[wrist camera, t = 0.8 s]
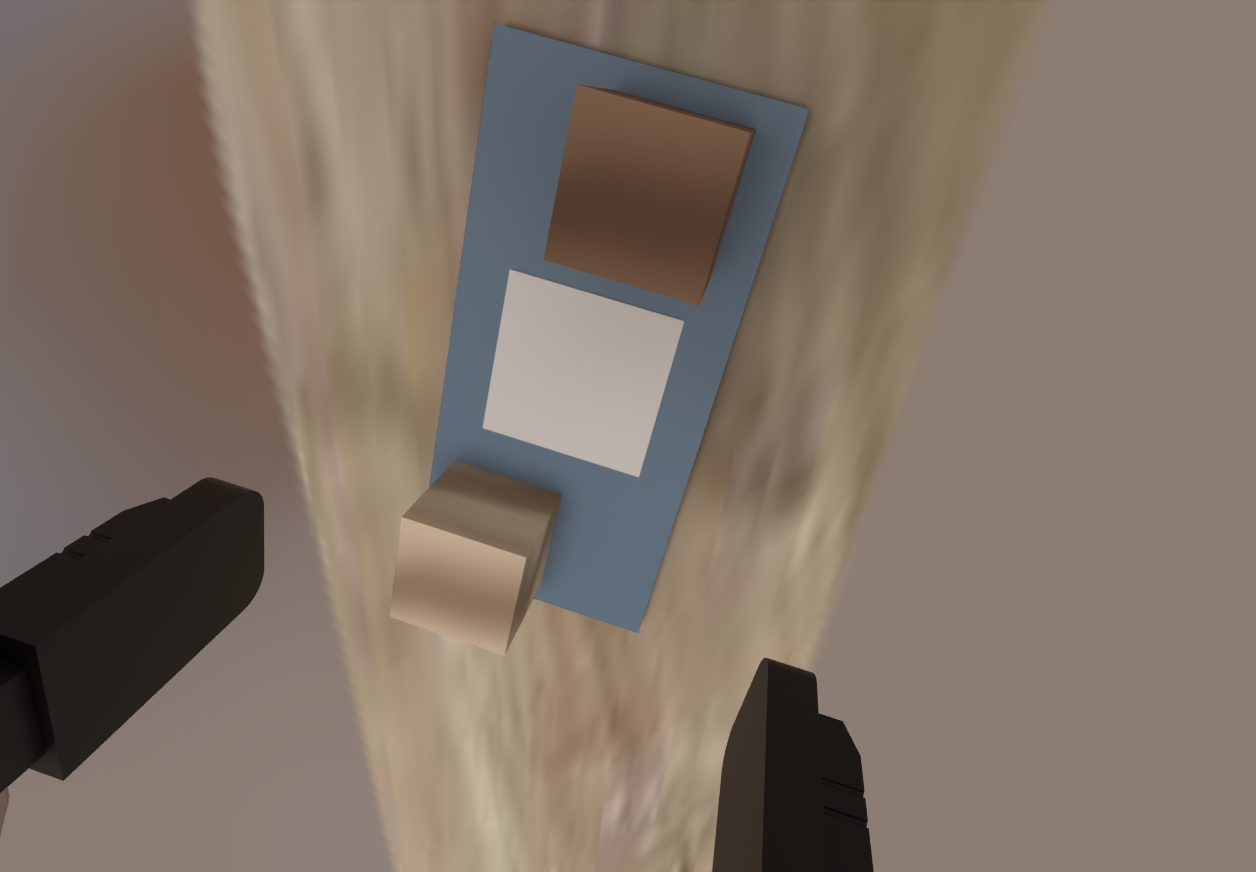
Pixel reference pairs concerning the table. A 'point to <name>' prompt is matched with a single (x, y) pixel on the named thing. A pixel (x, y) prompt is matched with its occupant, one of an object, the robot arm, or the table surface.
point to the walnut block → (645, 192)
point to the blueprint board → (592, 326)
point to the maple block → (473, 555)
